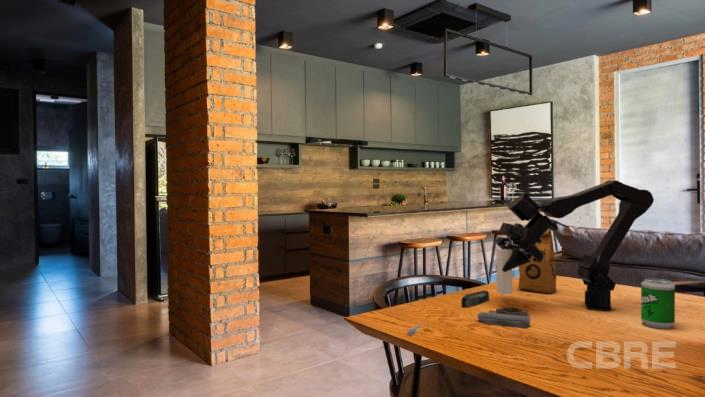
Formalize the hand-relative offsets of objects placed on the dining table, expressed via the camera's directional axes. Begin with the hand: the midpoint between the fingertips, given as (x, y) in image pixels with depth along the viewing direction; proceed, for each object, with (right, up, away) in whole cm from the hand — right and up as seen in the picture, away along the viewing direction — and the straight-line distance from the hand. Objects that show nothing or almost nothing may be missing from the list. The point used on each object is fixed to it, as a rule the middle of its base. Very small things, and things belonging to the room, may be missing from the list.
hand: (500, 269), depth 140 cm
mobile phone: (-6, -13, +5) cm, 15 cm away
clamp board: (-2, -13, -12) cm, 18 cm away
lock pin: (+1, -7, +1) cm, 7 cm away
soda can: (+37, -13, -15) cm, 42 cm away
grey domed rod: (-4, -12, -16) cm, 20 cm away
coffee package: (+22, -12, +27) cm, 36 cm away
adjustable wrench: (-21, -14, -10) cm, 27 cm away
